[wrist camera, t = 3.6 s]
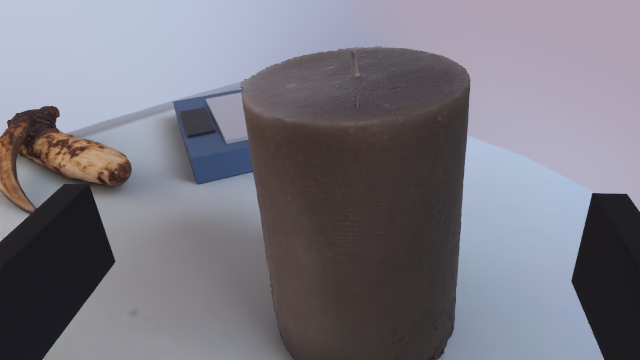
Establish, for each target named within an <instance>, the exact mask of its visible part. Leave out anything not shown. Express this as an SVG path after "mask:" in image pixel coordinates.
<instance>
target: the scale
mask: <svg viewBox="0 0 640 360" xmlns="http://www.w3.org/2000/svg"><path fill="white" fill-rule="evenodd" d="M242 90H243V89H241V90H235V91H230V92H224V93H219V94H213V95H208V96H203V97H197V98H192V99H186V100H181V101H176V102H174V107H175V112H176V116H177V121H178V125H179V128H180V131H181V134H182V137H183V141H184V144H185V147H186V150H187V153H188V157H189V160H190V163H191V166H192V169H193V173H194V176H195V179H196V182H197V184H200V183H204V182H209V181H213V180H217V179H222V178H226V177H230V176H235V175H239V174H244V173H248V172H252V171H253V168H252V161H251V153H250V146H249V140H248V134H247V127H246V123H245V114H244V110H243V103H242V94H241V92H242Z"/></svg>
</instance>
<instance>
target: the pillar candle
mask: <svg viewBox="0 0 640 360" xmlns="http://www.w3.org/2000/svg"><path fill="white" fill-rule="evenodd" d="M241 88H242V89H243V90H242V92H241V94H242V103H243V110H244V114H245V123H246V127H247V134H248V140H249V146H250V153H251V161H252V168H253V175H254V179H255V185H256V190H257V198H258V204H259V209H260V215H261V222H262V229H263V238H264V243H265V252H266V260H267V264H268V269H269V274H270V281H271V285H270V287H271V292H272V297H273V304H274V309H275V313H276V317H277V322H278V327H279V331H280V335H281V338H282V340H283V343H284V345H285V346H286V348H287V349H288V351H289V352H290V354H291V355H292V356H293V357H294V359H295V360H438V359H440V358H441V356H442V355H443V353H444V348H445V346H446V345H447V341H448V339H449V337H451V335H452V332H453V330H454V320H455V303H456V285H457V272H458V256H459V242H460V230H461V209H462V194H463V178H464V166H465V153H466V143H467V128H468V110H469V109H468V108H469V94H470V77H469V74H468V73H467V71H466V69H465V68H463V67H462V66H461V65H459V64H458V63H456V62H454V61H452V60H450V59H448V58H446V57H444V56H441V55H437V54H431V53H428V52H423V51H417V50H411V49H404V48H383V47H371V48H370V47H369V48H347V49H339V50H337V51H328V52H320V53H314V54H309V55H303V56H300V57H295V58H293V59H289V60H286V61H284V62H281V63H279V64H275V65H272V66H270V67H267V68H265V69H264V70H262V71H260V72H258V73H257V74H256V75H253V76H252V77H251V78H249V79H245V80H244V81H242V83H241Z"/></svg>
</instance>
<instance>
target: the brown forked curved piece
mask: <svg viewBox="0 0 640 360" xmlns="http://www.w3.org/2000/svg"><path fill="white" fill-rule="evenodd" d="M59 115H60V114H59V110H58V109H57V108H56V107H53V106H45V107H42V108H41V109H37V110H36V109H35V110H28V111H24V112H21V113H17V114H16V115H15V116H14V117H13V118H12V119H11V120H8V121H7V124H8V129H7V130H6V131H5V132H4V133H3V135H2V136H1V137H0V190H1V192H2V193H3V194H4V195H5V196H6V197H7V198H8V199H9V200H10V201H11V202H12V203H13V204H15V205H16V206H18V207H19V208H21V209H23V210H24V211H27V212H29V213H31V214H32V213H33V212H34V211H35V210H36V208H35V207H34V205H33V204H32V203H31V202H30V201H29V199H28V198H27V196H26V195H25V193H24V192H23V190H22V188H21V186H20V184H19V181H18V179H17V172H16V157H17V153H18V154H19V155H21V156H22V157H26V158H31V159H33V160H34V161H35V162H36V163H38V164H41V165H44V166H46V167H48V168H50V169H51V170H52V171H55V172H57V173H59V174H61V175H64V176H65V177H69V178H77V179H82V180H84V181H87V182H95V183H99V184H103V185H110V186H118V185H121V184H123V183H125V182H126V181H127V180H128V178H129V177H130V175H131V171H132V169H131V164H130V162H129V160H128V159H127V157H126V156H125V155H124V154H122V153H121V152H119V151H118V150H115V149H113V148H110V147H107V146H105V145H103V144H101V143H98V142H94V141H92V140H87V139H80V138H77V137H75V136H73V135H69V134H65V133H62V132H60V131H59V130H58V129H57V128H56V125H55V123H56V118H57V117H59Z"/></svg>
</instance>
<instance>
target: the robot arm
mask: <svg viewBox="0 0 640 360" xmlns="http://www.w3.org/2000/svg"><path fill="white" fill-rule="evenodd" d="M114 263H115V259H114V256H113V253H112V250H111V247H110V244H109V241H108V238H107V235H106V232H105V229H104V226H103V223H102V221H101V218H100V215H99V212H98V209H97V206H96V203H95V200H94V197H93V194H92V191H91V188H90V185H89V184H64V185H63V186H62V187H60V188H59V189H58V190H57V191H56V192H55V193H54V194H53V195H52V196H50V197H49V198H48V199H47V200H46V201H45V202H44V203H43V204H42V205H40V206H39V207H38V208H37V209H36V210H35V211H34V212H33V213H32V214H30V215H29V216H28V217H27V218H26V219H25V220H24V221H23V222H22V223H20V224H19V225H18V226H17V227H16V228H15V229H14V230H13V231H12V232H10V233H9V234H8V235H7V236H6V237H5V238H4V239H3V240H2V241H0V360H42V359H43V358H44V356H45V355H46V354H47V352H48V351H49V350H50V348H51V347H52V346H53V344H54V343H55V342H56V340H57V339H58V338H59V336H60V335H61V334H62V332H63V331H64V330H65V328H66V327H67V326H68V324H69V323H70V322H71V320H72V319H73V318H74V316H75V315H76V314H77V312H78V311H79V310H80V308H81V307H82V306H83V304H84V303H85V302H86V300H87V299H88V298H89V296H90V295H91V294H92V292H93V291H94V290H95V288H96V287H97V286H98V284H99V283H100V282H101V280H102V279H103V278H104V276H105V275H106V274H107V272H108V271H109V270H110V268H111V267H112V266H113V264H114ZM572 284H573V286H574V289H575V291H576V293H577V296H578V298H579V301H580V303H581V305H582V308H583V310H584V312H585V315H586V317H587V320H588V322H589V324H590V327H591V329H592V331H593V334H594V336H595V339H596V341H597V343H598V346H599V348H600V351H601V353H602V355H603V358H604V360H640V212H639V210H638V209H637V207H636V206H635V205H634V203H633V202H632V200H631V199H630V198H629V196H628V195H627V194H600V193H592V197H591V201H590V206H589V210H588V214H587V218H586V222H585V227H584V231H583V235H582V239H581V243H580V247H579V252H578V256H577V260H576V264H575V268H574V272H573V277H572Z"/></svg>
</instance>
